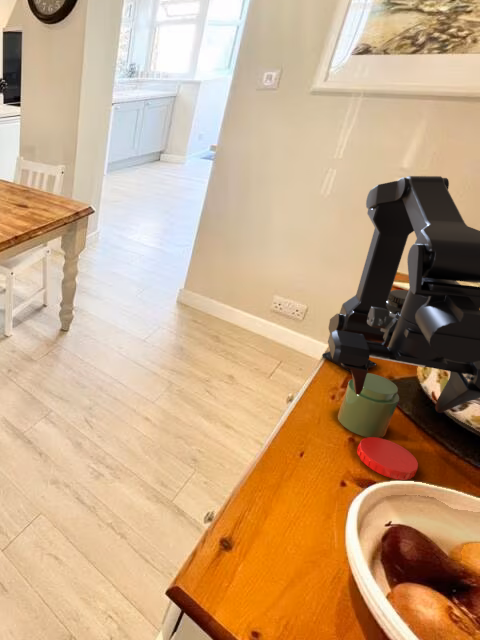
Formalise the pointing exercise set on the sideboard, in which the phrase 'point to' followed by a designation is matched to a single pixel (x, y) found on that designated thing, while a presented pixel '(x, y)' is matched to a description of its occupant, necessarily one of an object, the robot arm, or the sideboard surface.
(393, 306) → the supplement bottle
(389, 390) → the jam jar
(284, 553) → the sideboard surface
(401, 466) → the lid
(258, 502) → the sideboard surface
